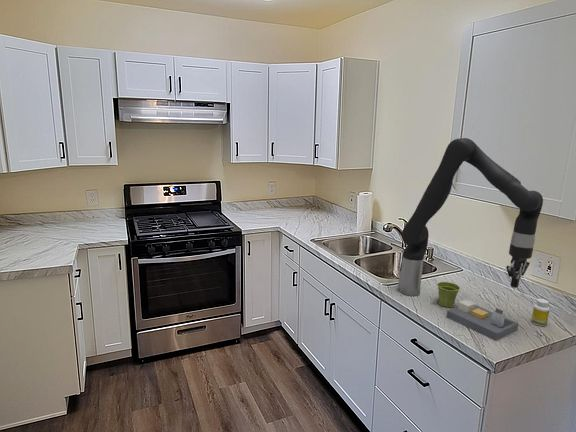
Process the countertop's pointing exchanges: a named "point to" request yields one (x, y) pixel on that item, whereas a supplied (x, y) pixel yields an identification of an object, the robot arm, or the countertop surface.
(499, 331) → the panel
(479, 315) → the amber button
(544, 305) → the supplement bottle
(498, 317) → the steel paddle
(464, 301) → the ivory button
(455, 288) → the plant pot
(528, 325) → the countertop surface
